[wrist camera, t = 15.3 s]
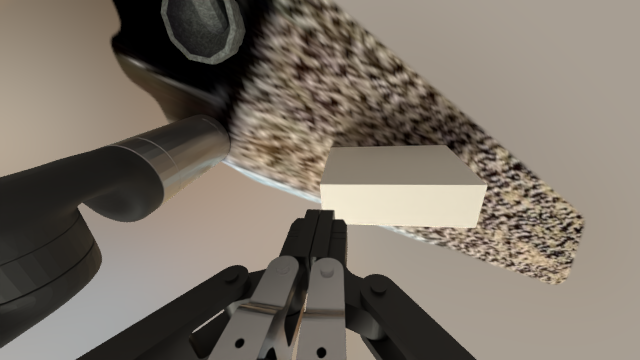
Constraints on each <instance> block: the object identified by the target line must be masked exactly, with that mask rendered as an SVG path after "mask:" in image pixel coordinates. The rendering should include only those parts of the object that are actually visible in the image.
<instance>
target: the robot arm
mask: <svg viewBox="0 0 640 360" xmlns="http://www.w3.org/2000/svg"><path fill="white" fill-rule="evenodd" d="M229 150H230V139H229V136H228V133H227V131H226V130H225V128H224V127H223V126H222V125H221V124H220V123H219V122H218V121H217V120H216V119H214V118H212V117H210V116H207V115H194V116H191V117H188V118H186V119H183V120H179V121H176V122H174V123H171V124H168V125H165V126H162V127H159V128H156V129H153V130H151V131H147V132H145V133H142V134H139V135H136V136H133V137H130V138H127V139H125V140H122V141H119V142H116V143H113V144H110V145H107V146H104V147H101V148H99V149H96V150H92V151H89V152H85V153H81V154H78V155H74V156H70V157H67V158H63V159H60V160H56V161H53V162H50V163H47V164H44V165H41V166H38V167H34V168H31V169H28V170H24V171H21V172H17V173H14V174H10V175H7V176H3V177H0V348H2V347H3V346H4V345H6V344H7V343H9V342H10V341H12V340H13V339H15V338H16V337H18V336H19V335H21V334H22V333H24V332H25V331H27V330H28V329H30V328H31V327H33V326H34V325H36V324H37V323H38V322H40V321H41V320H43V319H44V318H46V317H47V316H48V315H50V314H51V313H53V312H54V311H55V310H57V309H58V308H59V307H61V306H62V305H63V304H65V303H66V302H67V301H69V300H70V299H71V298H72V297H73V296H75V295H76V294H77V293H78V292H79V291H80V290H82V289H83V288H84V287H85V286H86V285H87V284H88V283H89V282H90V281H91V279H92V278H93V277H94V276H95V274H96V273H97V272H98V270H99V268H100V265H101V262H102V255H101V252H100V249H99V247H98V245H97V243H96V241H95V239H94V237H93V235H92V233H91V231H90V230H89V228H88V226H87V224H86V222H85V221H84V219H83V217H82V215H81V213H80V211H79V210H78V208H77V206H78V205H79V204H81V203H84V204H85V205H87V206H88V207H89V208H91V209H92V210H94V211H95V212H97V213H99V214H100V215H103V216H104V217H107V218H109V219H113V220H115V221H120V222H134V221H138V220H141V219H143V218H145V217H146V216H148V215H149V214H151V213H152V212H153V211H155V210H156V209H157V208H158V207H160V206H161V205H162V204H164V203H165V202H167V201H168V200H169V199H171V198H172V197H173V196H174V195H176V194H177V193H178V192H180V191H181V190H182V189H184V188H185V187H186V186H188V185H189V184H190V183H192V182H193V181H194V180H196V179H197V178H199V177H200V176H201V175H203V174H204V173H205V172H207V171H208V170H209V169H211V168H212V167H213V166H215V165H216V164H218V163H219V162H220V161H222V160H223V159H224V158H225V157H226V156H227V155H228V153H229ZM346 266H347V225H346V223H345V221H344V219H335V211H334V210H311V209H308V210H307V212H306V215H305V218H298V219H296V220H295V221H294V223H292V225H291V227H290V230H289V232H288V235H287V238H286V240H285V242H284V245H283V248H282V250H281V253H280V255H279V257H277V258H275V259H274V260H272V261H271V262H270V264H269V265H268V267H267V269H264V270H261V271H256V272H251V273H248V270H247V268H245V267H244V266H241V265H235V266H231V267H228V268H226V269H224V270H222V271H221V272H219V273H217V274H216V275H214V276H213V277H211V278H209V279H208V280H206V281H204V282H203V283H201V284H199V285H198V286H196V287H194V288H193V289H191V290H189V291H188V292H186V293H185V294H183V295H181V296H180V297H178V298H176V299H175V300H173V301H171V302H170V303H168V304H167V305H165V306H163V307H161V308H160V309H158V310H157V311H155V312H153V313H152V314H150V315H148V316H147V317H145V318H144V319H142V320H140V321H139V322H137V323H135V324H133V325H132V326H130V327H129V328H127V329H125V330H124V331H122V332H120V333H119V334H117V335H115V336H114V337H112V338H110V339H109V340H107V341H106V342H104V343H102V344H101V345H99V346H97V347H96V348H94V349H92V350H91V351H89V352H87V353H86V354H84V355H82V356H81V357H79V358H78V359H76V360H292V352H293V348H294V345H295V341H296V338H297V334H298V331H299V327H300V324H301V327H300V335H299V342H298V349H297V357H296V360H346V333H345V332H346V331H345V328H348V329H350V330H352V331H354V332H356V333H358V334H360V335H361V338H362V340H363V341H364V343H365V344H366V346H367V347H368V349H369V350H370V351H371V353H372V354H373V356H374V357H375V358H376V360H476V359H475V358H474V357H473V356H472V355H471V354H470V353H469V352H468V351H467V350H466V349H465V348H464V347H462V346H461V345H460V344H459V343H458V342H457V341H456V340H455V339H454V338H453V337H452V336H451V335H449V333H447V332H446V331H445V330H444V329H443V328H442V327H441V326H440V325H439V324H438V323H437V322H435V320H434V319H432V318H431V317H430V316H429V315H428V314H427V313H426V312H425V311H424V310H423V309H422V308H421V307H419V305H417V304H416V303H415V302H414V301H413V300H412V299H411V298H410V297H409V296H408V295H407V294H406V293H405V292H404V291H403V290H401V289H400V288H399V287H398V286H397V285H396V284H395V283H394V282H393V281H392V280H391V279H389V278H388V277H386V276H384V275H380V274H372V275H369V276H366V277H365V278H361V277H358V276H355V275H354V274H352V273H351V272H350V271H349V270H348V269H347V267H346ZM307 293H308V297H307V306H306V311H305V312H304V310H305V304H304V303H305V299H306V294H307ZM223 309H224V312H223V313H221V314H220V315H218V316H217V317H216V318H214V319H213V320H211V321H210V322H209V323H208V324H206V325H205V326H203V327H202V328H200V329H199V330H197V331H196V332H194V333H192V332H193V331H194V330H195V329H196V328H198V327H199V326H200V325H202V324H203V323H205V322H206V321H207V320H209V319H210V318H212V317H213V316H215V315H216V314H217V313H219V312H220V311H221V310H223Z"/></svg>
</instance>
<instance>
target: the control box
mask: <svg viewBox="0 0 640 360" xmlns="http://www.w3.org/2000/svg"><path fill="white" fill-rule="evenodd" d="M486 189H487V184H486V183H485V182H484V181H483V180H482V179H481V178H480V177H479V176H477V175H476V174H475V173H474V172H473V171H472V170H471V169H470V168H469V167H468V166H467V165H466V164H465V163H464V162H463V161H462V160H461V159H460V158H459V157H458V156H457V155H456V154H455V153H454V152H452V151H451V150H450V149H449V148H448V147H447V146H446V145H423V146H375V147H331V149H330V152H329V156H328V159H327V162H326V166H325V169H324V173H323V176H322V179H321V183H320V190H321V203H322V210H334V211H335V219H344V221H345V223H346V224H358V225H359V224H360V225H392V226H426V227H460V228H475V227H476V224H477V220H478V217H479V213H480V210H481V206H482V203H483V199H484V196H485V192H486Z"/></svg>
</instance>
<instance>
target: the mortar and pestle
mask: <svg viewBox="0 0 640 360" xmlns="http://www.w3.org/2000/svg"><path fill="white" fill-rule="evenodd" d="M161 14H162V17H163V20H164V23H165V26H166V29H167V32H168V34H169V37H170V40H171V41H172V42H173V43H174V44H175V45H176V46H177V47H178V48H179V49H180V50H181V51H182V52H183V53H184V54H185V55H186V56H187V57H188V58H189V59H190V60H194V61H199V62H203V63H208V64H218V63H220V62H222V61H224V60H226V59H227V58H229V57H230V56H232V55H234V54H235V53H237V52H238V49H239V46H240V45H241V44H242V41H243V38H244V35H245V32H246V31H245V27H244V23H243V18H242V15H241V14H240V10H239V6H238V4H237V3H236V1H235V0H163V2H162V8H161Z"/></svg>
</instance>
